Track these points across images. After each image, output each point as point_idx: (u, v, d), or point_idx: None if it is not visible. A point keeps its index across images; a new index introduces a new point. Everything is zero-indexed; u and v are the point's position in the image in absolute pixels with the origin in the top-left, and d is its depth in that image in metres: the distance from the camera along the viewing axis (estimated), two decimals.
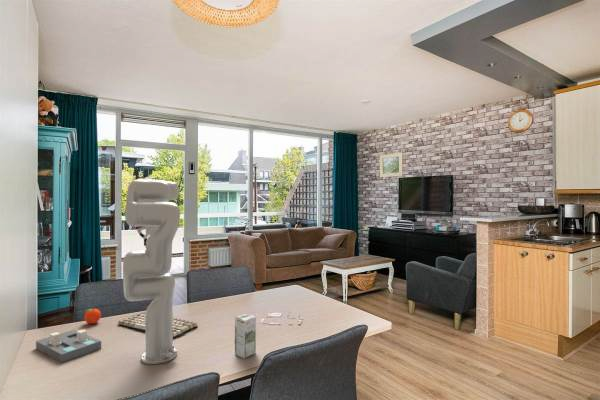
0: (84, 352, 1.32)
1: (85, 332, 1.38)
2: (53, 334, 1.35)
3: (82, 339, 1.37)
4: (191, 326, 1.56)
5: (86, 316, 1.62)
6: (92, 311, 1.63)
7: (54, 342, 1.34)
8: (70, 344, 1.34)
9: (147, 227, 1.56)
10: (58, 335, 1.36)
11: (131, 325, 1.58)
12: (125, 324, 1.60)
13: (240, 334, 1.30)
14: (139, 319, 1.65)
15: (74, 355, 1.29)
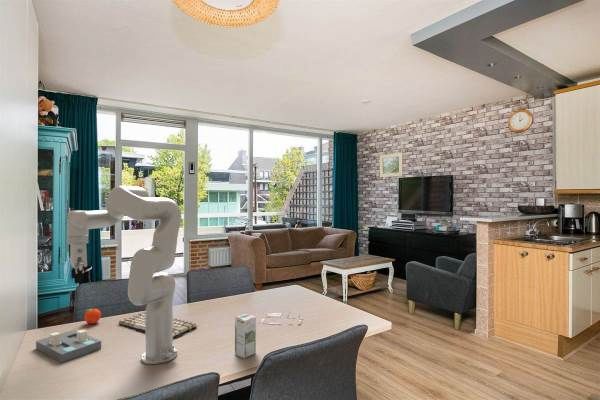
0: (84, 352, 1.32)
1: (85, 332, 1.38)
2: (53, 334, 1.35)
3: (82, 339, 1.37)
4: (190, 327, 1.55)
5: (86, 316, 1.62)
6: (92, 311, 1.63)
7: (54, 342, 1.34)
8: (70, 344, 1.34)
9: (86, 259, 1.43)
10: (58, 335, 1.36)
11: (131, 325, 1.59)
12: (125, 324, 1.60)
13: (240, 334, 1.30)
14: (140, 319, 1.65)
15: (74, 355, 1.29)
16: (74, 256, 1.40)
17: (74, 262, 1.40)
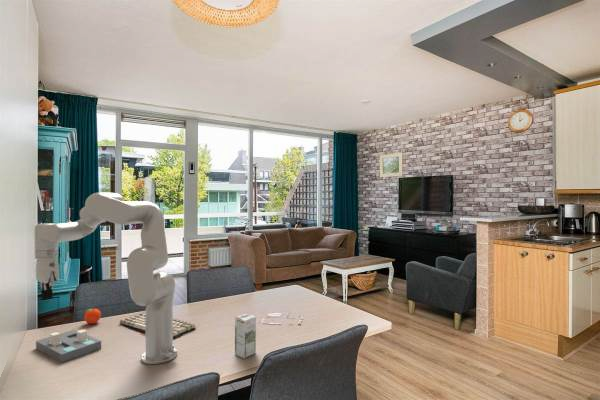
0: (84, 352, 1.32)
1: (85, 332, 1.38)
2: (53, 334, 1.35)
3: (82, 339, 1.37)
4: (189, 328, 1.54)
5: (86, 316, 1.62)
6: (92, 311, 1.63)
7: (54, 342, 1.34)
8: (70, 344, 1.34)
9: (58, 273, 1.39)
10: (58, 335, 1.36)
11: (131, 324, 1.59)
12: (126, 323, 1.61)
13: (240, 334, 1.30)
14: (140, 319, 1.65)
15: (74, 355, 1.29)
16: (46, 271, 1.36)
17: (47, 277, 1.35)
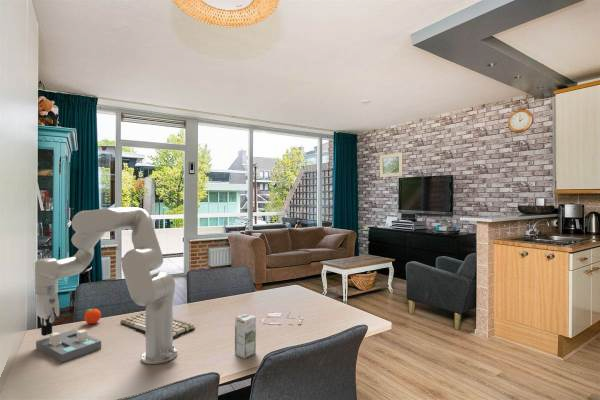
0: (84, 352, 1.32)
1: (85, 332, 1.38)
2: (53, 334, 1.35)
3: (82, 339, 1.37)
4: (187, 328, 1.53)
5: (86, 316, 1.62)
6: (92, 311, 1.63)
7: (54, 342, 1.34)
8: (70, 344, 1.34)
9: (58, 308, 1.40)
10: (58, 335, 1.36)
11: (131, 324, 1.59)
12: (126, 323, 1.61)
13: (240, 334, 1.30)
14: (141, 319, 1.65)
15: (74, 355, 1.29)
16: (46, 307, 1.36)
17: (47, 313, 1.36)
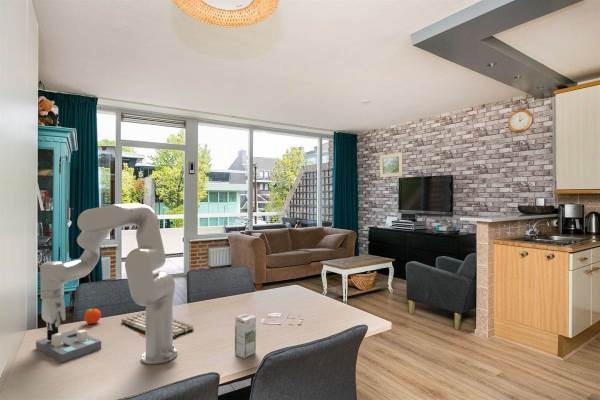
0: (84, 352, 1.32)
1: (85, 332, 1.38)
2: (55, 335, 1.35)
3: (82, 339, 1.37)
4: (186, 329, 1.53)
5: (86, 316, 1.62)
6: (92, 311, 1.63)
7: (56, 343, 1.34)
8: (70, 344, 1.34)
9: (64, 312, 1.37)
10: (60, 336, 1.35)
11: (131, 324, 1.59)
12: (127, 323, 1.62)
13: (240, 334, 1.30)
14: (141, 318, 1.66)
15: (74, 355, 1.29)
16: (52, 311, 1.33)
17: (53, 317, 1.33)
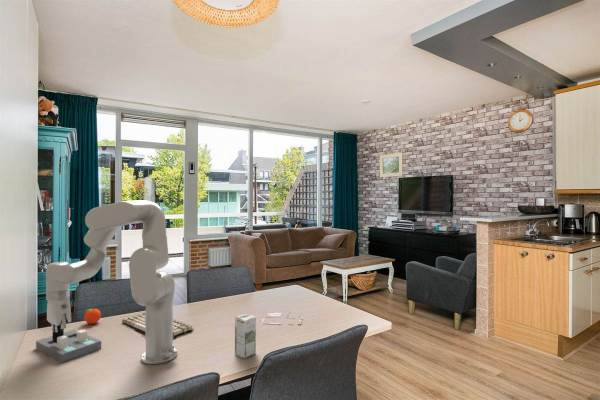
0: (84, 352, 1.32)
1: (85, 332, 1.38)
2: (60, 337, 1.32)
3: (82, 339, 1.37)
4: (185, 329, 1.52)
5: (86, 316, 1.62)
6: (92, 311, 1.63)
7: (61, 346, 1.31)
8: (70, 344, 1.34)
9: None
10: (65, 338, 1.32)
11: (131, 324, 1.60)
12: (127, 322, 1.62)
13: (240, 334, 1.30)
14: (142, 318, 1.66)
15: (74, 355, 1.29)
16: (58, 313, 1.30)
17: (58, 319, 1.30)
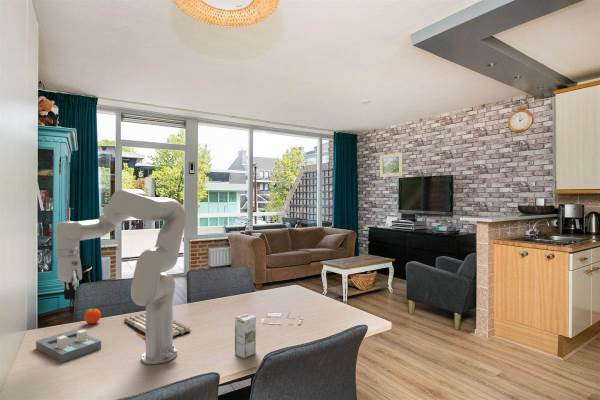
0: (84, 352, 1.32)
1: (85, 332, 1.38)
2: (60, 337, 1.32)
3: (82, 339, 1.37)
4: (182, 331, 1.50)
5: (86, 316, 1.62)
6: (92, 311, 1.63)
7: (61, 346, 1.31)
8: (70, 344, 1.34)
9: None
10: (65, 338, 1.32)
11: (132, 323, 1.60)
12: (128, 322, 1.63)
13: (240, 334, 1.30)
14: (143, 318, 1.66)
15: (74, 355, 1.29)
16: (69, 269, 1.33)
17: (70, 276, 1.33)
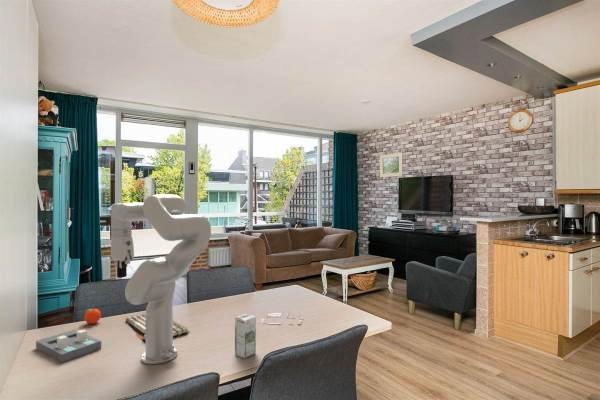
0: (84, 352, 1.32)
1: (85, 332, 1.38)
2: (60, 337, 1.32)
3: (82, 339, 1.37)
4: (179, 332, 1.49)
5: (86, 316, 1.62)
6: (92, 311, 1.63)
7: (61, 346, 1.31)
8: (70, 344, 1.34)
9: None
10: (65, 338, 1.32)
11: (132, 323, 1.61)
12: (129, 321, 1.64)
13: (240, 334, 1.30)
14: (144, 318, 1.66)
15: (74, 355, 1.29)
16: (123, 249, 1.39)
17: (124, 255, 1.39)
